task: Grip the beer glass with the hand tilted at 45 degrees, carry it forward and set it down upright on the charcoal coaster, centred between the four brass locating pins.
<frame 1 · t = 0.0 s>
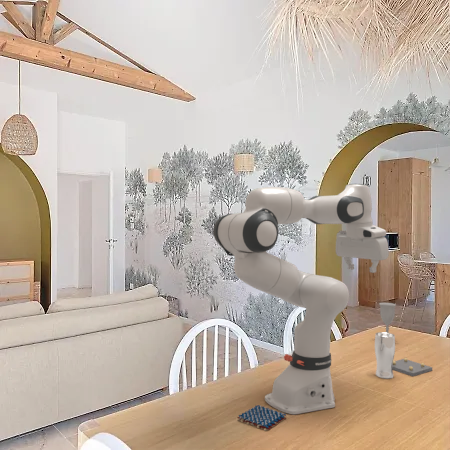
hand: (361, 270, 152), 39 cm above the table, tool pointing down, fingers open, 8 cm apart
coaster: (408, 368, 167), on the table
beer glass: (384, 376, 159), on the table
chalice: (387, 343, 201), on the table
woven mat: (261, 422, 124), on the table
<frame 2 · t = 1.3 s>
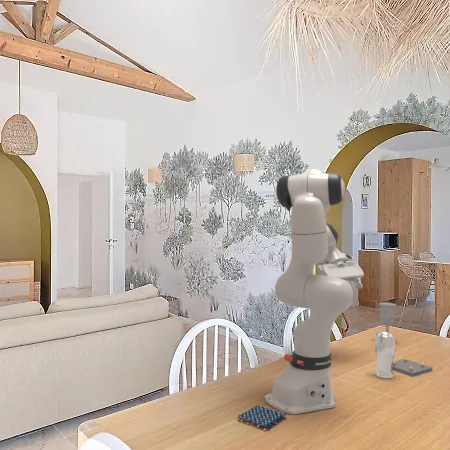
hand: (352, 289, 172), 29 cm above the table, tool tilted 45°, fingers open, 8 cm apart
nothing on the table moved.
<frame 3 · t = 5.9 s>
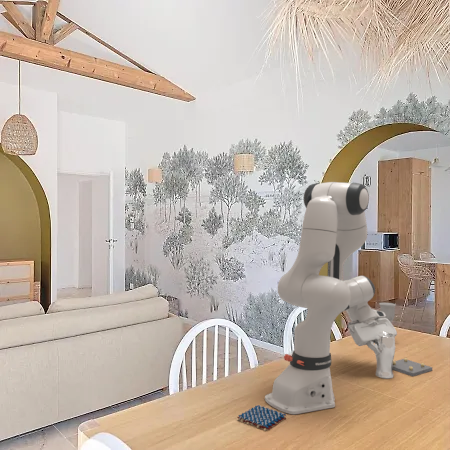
hand: (386, 351, 159), 9 cm above the table, tool tilted 45°, fingers closed on beer glass, 7 cm apart
beer glass: (384, 376, 159), on the table, touching gripper
everything else where it was.
when the fingers open (12 cm above the table, at t = 10.9 s): beer glass drops 2 cm, resting on coaster.
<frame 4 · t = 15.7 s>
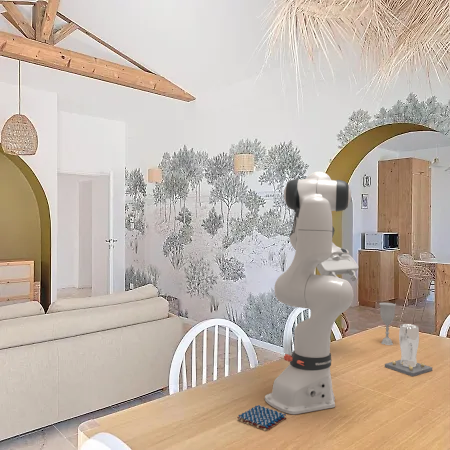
hand: (347, 281, 179), 31 cm above the table, tool tilted 45°, fingers open, 8 cm apart
beer glass: (408, 365, 167), point 1 cm above the table, touching coaster
everything else where it was.
at the end: beer glass 0.4 cm off-centre on the coaster, point 1.0 cm above the coaster's base; beer glass tilted 0°; the gripper is holding nothing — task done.
